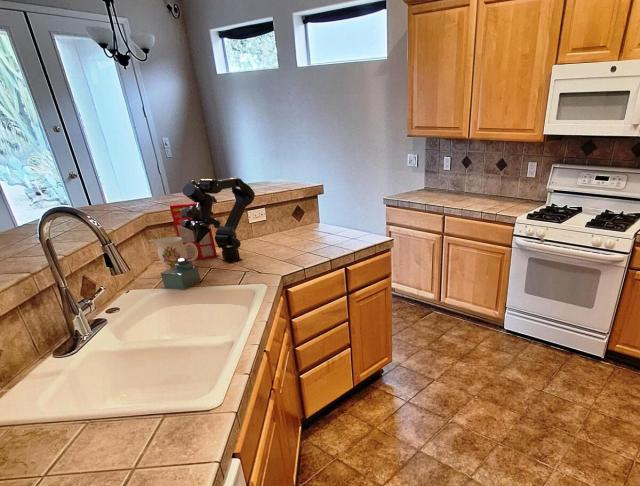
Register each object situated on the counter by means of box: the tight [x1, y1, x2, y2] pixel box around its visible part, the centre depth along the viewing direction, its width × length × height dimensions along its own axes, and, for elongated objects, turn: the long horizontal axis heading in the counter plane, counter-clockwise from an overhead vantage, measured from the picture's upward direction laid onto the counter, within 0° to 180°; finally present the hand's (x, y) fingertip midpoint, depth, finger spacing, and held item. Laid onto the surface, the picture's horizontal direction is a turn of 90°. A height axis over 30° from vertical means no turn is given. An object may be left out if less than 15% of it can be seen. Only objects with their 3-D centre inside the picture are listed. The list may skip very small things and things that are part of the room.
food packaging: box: [169, 201, 218, 261], centre depth 199 cm, size 15×5×25 cm, turn 115°
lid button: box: [178, 258, 189, 265], centre depth 170 cm, size 4×4×2 cm
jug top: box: [160, 261, 201, 291], centre depth 170 cm, size 11×9×8 cm
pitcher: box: [147, 236, 198, 271], centre depth 186 cm, size 11×18×14 cm, turn 112°
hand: (196, 243), depth 177 cm, fingers closed
